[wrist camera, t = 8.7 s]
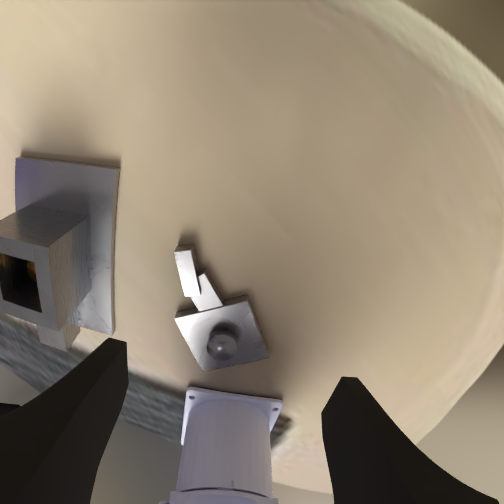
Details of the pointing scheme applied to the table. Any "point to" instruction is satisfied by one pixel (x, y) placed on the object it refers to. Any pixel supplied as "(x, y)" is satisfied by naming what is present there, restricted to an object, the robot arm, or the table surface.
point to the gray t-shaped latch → (216, 319)
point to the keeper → (101, 232)
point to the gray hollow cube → (44, 264)
